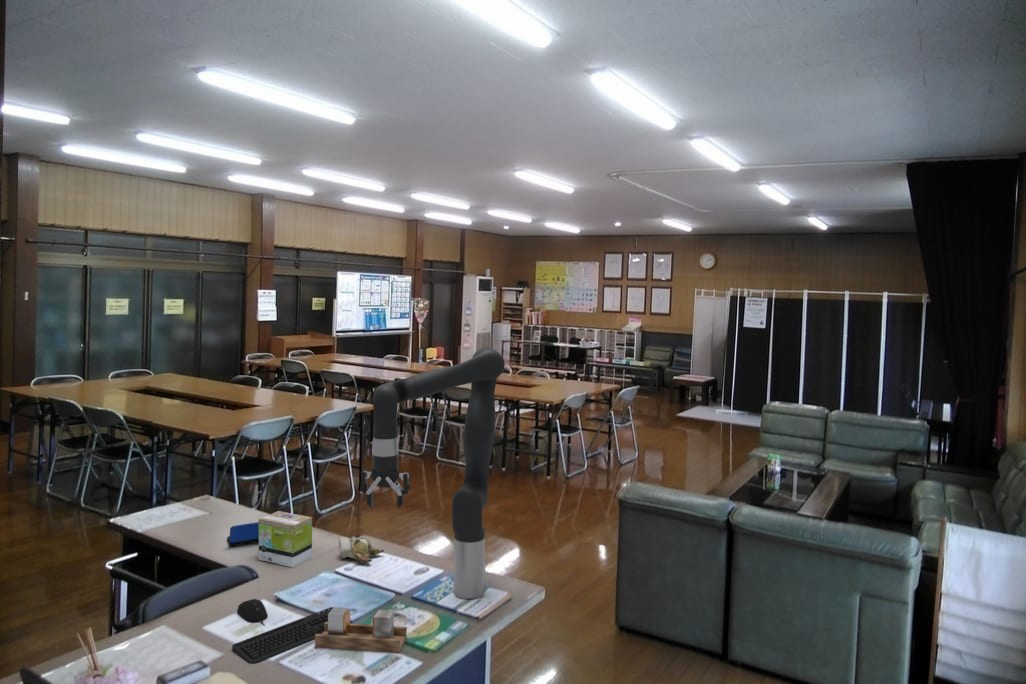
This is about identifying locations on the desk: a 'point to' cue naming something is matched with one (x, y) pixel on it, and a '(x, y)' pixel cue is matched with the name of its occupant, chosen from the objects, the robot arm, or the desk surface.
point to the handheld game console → (244, 534)
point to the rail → (367, 635)
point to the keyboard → (282, 638)
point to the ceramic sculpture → (357, 548)
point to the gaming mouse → (252, 611)
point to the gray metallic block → (339, 621)
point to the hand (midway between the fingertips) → (385, 506)
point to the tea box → (285, 538)
